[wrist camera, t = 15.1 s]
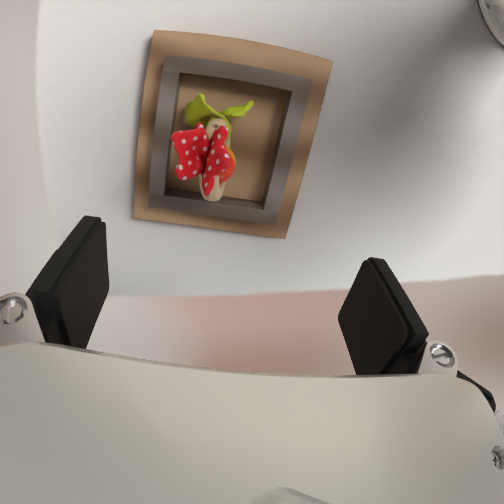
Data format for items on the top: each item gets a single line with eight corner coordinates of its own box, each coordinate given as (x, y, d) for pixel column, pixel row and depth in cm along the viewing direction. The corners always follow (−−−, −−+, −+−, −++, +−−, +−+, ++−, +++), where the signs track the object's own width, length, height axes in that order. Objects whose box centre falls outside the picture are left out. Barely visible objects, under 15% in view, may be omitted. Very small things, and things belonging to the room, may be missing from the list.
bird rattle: (252, 152, 32) (253, 75, 25) (260, 238, 26) (263, 151, 19) (192, 155, 32) (181, 79, 25) (184, 241, 26) (161, 157, 19)
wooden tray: (157, 31, 24) (148, 27, 21) (328, 61, 27) (339, 61, 24) (136, 212, 35) (128, 226, 32) (283, 232, 37) (287, 248, 34)
